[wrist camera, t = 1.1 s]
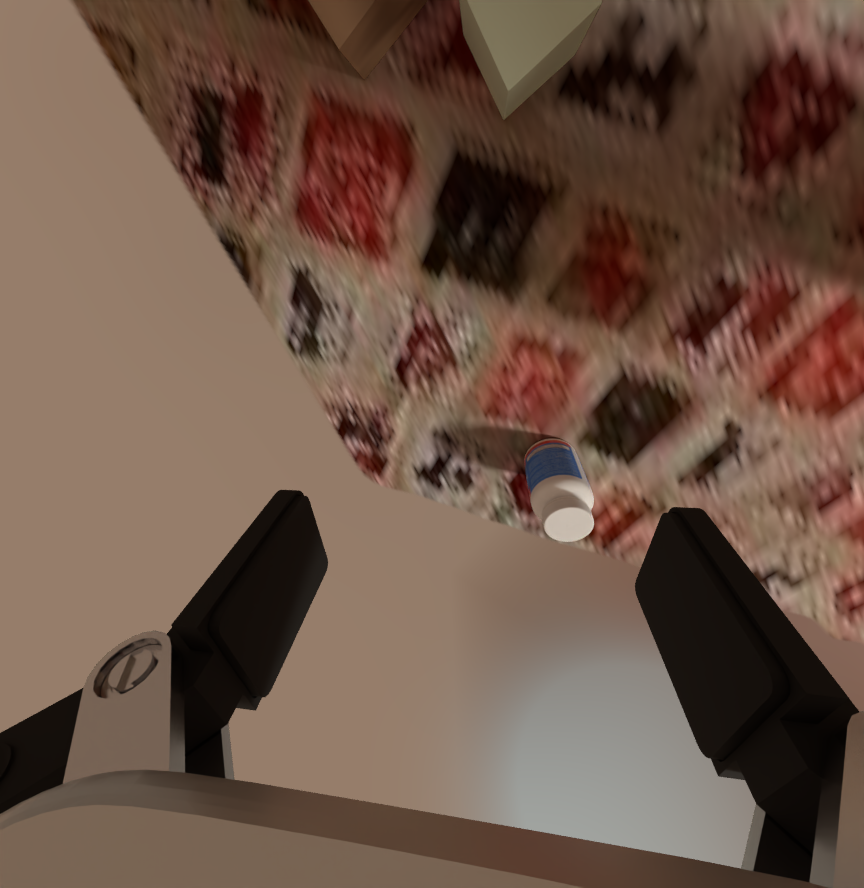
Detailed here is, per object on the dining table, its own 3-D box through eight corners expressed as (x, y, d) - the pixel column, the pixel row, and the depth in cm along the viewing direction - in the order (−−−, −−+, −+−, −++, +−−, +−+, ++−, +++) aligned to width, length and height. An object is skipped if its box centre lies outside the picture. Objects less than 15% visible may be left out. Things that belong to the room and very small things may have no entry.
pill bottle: (512, 457, 37) (520, 522, 29) (553, 427, 35) (574, 488, 27) (546, 487, 39) (562, 556, 31) (587, 459, 36) (617, 527, 28)
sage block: (537, -45, 20) (554, -139, 15) (575, 55, 22) (602, 2, 16) (463, 35, 22) (456, -24, 17) (503, 120, 24) (508, 91, 18)
